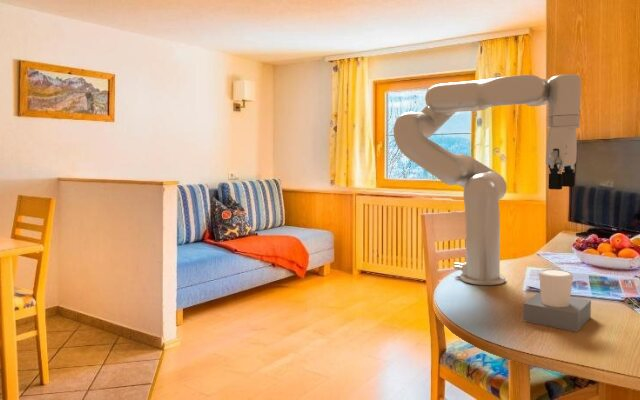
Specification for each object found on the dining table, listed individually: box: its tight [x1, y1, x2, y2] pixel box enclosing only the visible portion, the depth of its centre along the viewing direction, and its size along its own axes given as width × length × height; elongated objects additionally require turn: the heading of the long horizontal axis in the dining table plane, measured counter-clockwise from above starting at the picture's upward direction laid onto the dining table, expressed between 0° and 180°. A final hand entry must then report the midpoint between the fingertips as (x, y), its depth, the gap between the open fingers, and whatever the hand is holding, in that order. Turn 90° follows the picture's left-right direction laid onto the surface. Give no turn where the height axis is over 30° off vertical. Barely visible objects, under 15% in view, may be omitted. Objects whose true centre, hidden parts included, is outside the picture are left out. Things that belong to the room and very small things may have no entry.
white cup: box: [538, 268, 574, 307], centre depth 105 cm, size 7×7×7 cm
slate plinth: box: [522, 291, 592, 333], centre depth 107 cm, size 11×11×4 cm
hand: (561, 187), depth 126 cm, fingers open, 9 cm apart
